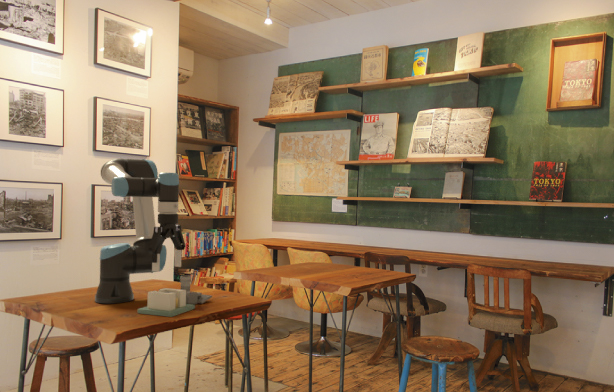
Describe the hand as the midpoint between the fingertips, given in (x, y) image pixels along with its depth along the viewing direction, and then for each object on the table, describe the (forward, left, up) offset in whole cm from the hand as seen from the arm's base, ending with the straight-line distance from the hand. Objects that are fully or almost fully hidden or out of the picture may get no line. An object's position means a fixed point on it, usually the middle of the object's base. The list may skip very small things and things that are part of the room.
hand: (167, 269), depth 189 cm
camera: (+1, +15, -16) cm, 22 cm away
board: (0, 0, -16) cm, 16 cm away
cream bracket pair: (0, 0, -14) cm, 14 cm away
